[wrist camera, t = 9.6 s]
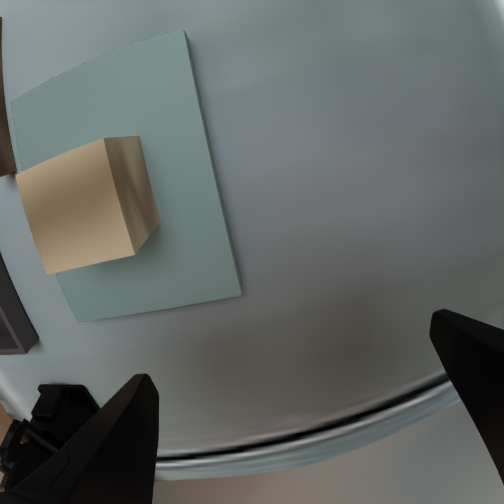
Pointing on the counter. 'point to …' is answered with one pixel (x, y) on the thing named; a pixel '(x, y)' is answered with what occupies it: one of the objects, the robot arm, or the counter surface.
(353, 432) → the counter surface
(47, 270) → the beech cube
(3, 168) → the cubby
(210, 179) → the platform
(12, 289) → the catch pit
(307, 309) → the counter surface
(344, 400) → the counter surface
